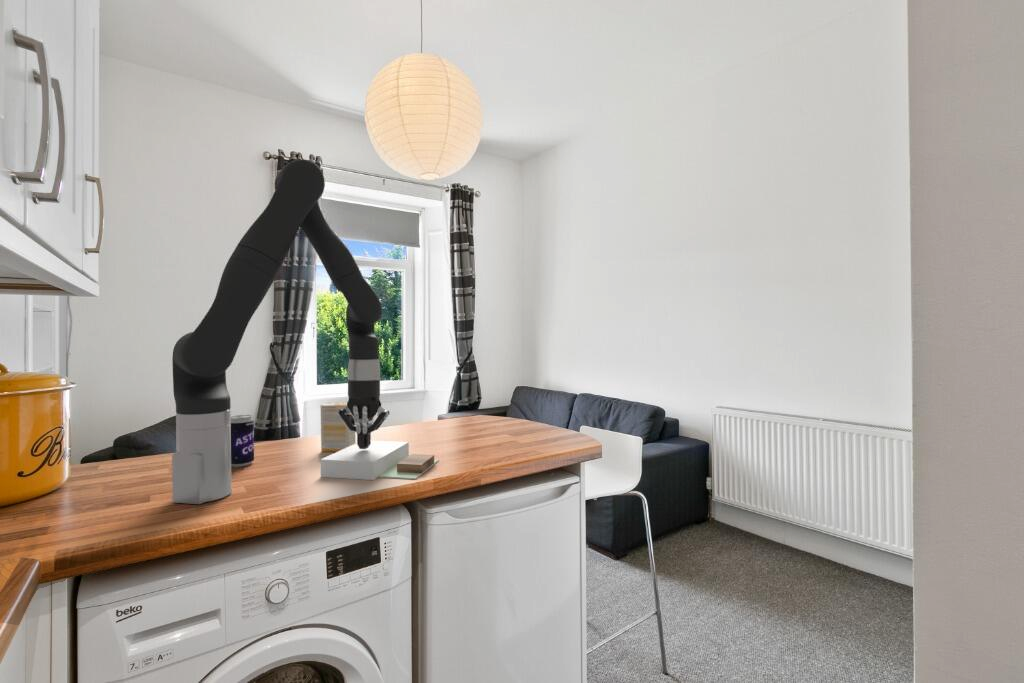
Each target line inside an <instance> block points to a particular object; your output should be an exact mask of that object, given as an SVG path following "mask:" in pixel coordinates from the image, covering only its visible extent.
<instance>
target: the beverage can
mask: <svg viewBox="0 0 1024 683" xmlns="http://www.w3.org/2000/svg"><path fill="white" fill-rule="evenodd" d="M254 425H255V420H254V419H253V416H252V415H251V414H239V415H233V416H231V467H234V468H236V467H237V468H239V467H246V466H249V465H251V464H252V463H253V462H254V460H255V426H254Z"/></svg>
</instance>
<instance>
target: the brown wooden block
mask: <svg viewBox="0 0 1024 683" xmlns="http://www.w3.org/2000/svg"><path fill="white" fill-rule="evenodd" d="M434 459H435V454H417V453H410V454H409V456H408V457H406V458H405V459H403V460H402V461H400V462H399V463H397V472H404V473H423V472H424V471H425V470H426V469H428V468H429V467H430V466H431V465H433V464H434ZM434 465H435V464H434ZM434 465H433V466H434ZM430 468H431V467H430ZM430 468H429V469H430ZM429 469H428V470H429ZM425 472H426V471H425ZM425 472H424V473H425ZM424 473H423V474H424Z"/></svg>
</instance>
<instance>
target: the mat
mask: <svg viewBox="0 0 1024 683" xmlns="http://www.w3.org/2000/svg"><path fill="white" fill-rule="evenodd" d="M439 461H440V460H439V459H436V458H434V464H433V465H431V466H430V467H429V468H428V469H426V470H425V471H424V472H423V473H404V472H397V464H396V465H394V466H393V467H391V468H390V469H388V470H386V471H385V472H383V473H382V474H380V475H379V476H378V478H382V479H401V480H417V479H418V478H420V477H421V476H422V475H423V474H424V473H426V472H427V471H428V470H429V469H431V468H432V467H433V466H434V465H435V464H437V463H438V462H439Z"/></svg>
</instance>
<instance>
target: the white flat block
mask: <svg viewBox="0 0 1024 683" xmlns="http://www.w3.org/2000/svg"><path fill="white" fill-rule="evenodd" d="M409 443H410V442H408V441H391V440H390V441H389V440H371V444H370V446H369V447H368V448H367V449H359V446H358V445H357V442H356V444H353V445H351V446H349V447H347V448H345V449H342V450H340V451H338V452H337V451H335V453H334V452H333V453H331V454H329V455H327V456H325V457H322V458H321V459H320V478H331V479H332V478H334V479H349V480H354V479H355V480H367V481H369V480H370V481H374V480H376V479H377V478H379V477H378V476H379V475H380V474H382V473H383V472H385V471H386V470H388V469H390V468H391V467H393V466H394V465H396V464H397V463H399V462H400V461H402V460H403V459H405V458H406V457H408V456H409V455H410V450H409V447H410V445H409Z"/></svg>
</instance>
